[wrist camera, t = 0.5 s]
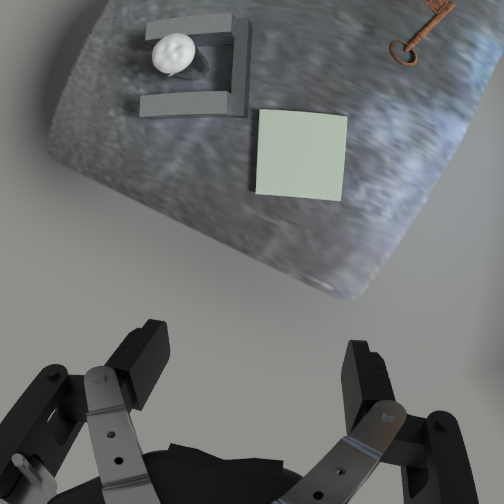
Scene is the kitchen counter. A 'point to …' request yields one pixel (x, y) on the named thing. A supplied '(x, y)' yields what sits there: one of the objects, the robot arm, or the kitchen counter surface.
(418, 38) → the key
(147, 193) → the kitchen counter surface
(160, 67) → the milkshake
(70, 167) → the kitchen counter surface
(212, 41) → the grey u-shaped bracket
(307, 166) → the mat
